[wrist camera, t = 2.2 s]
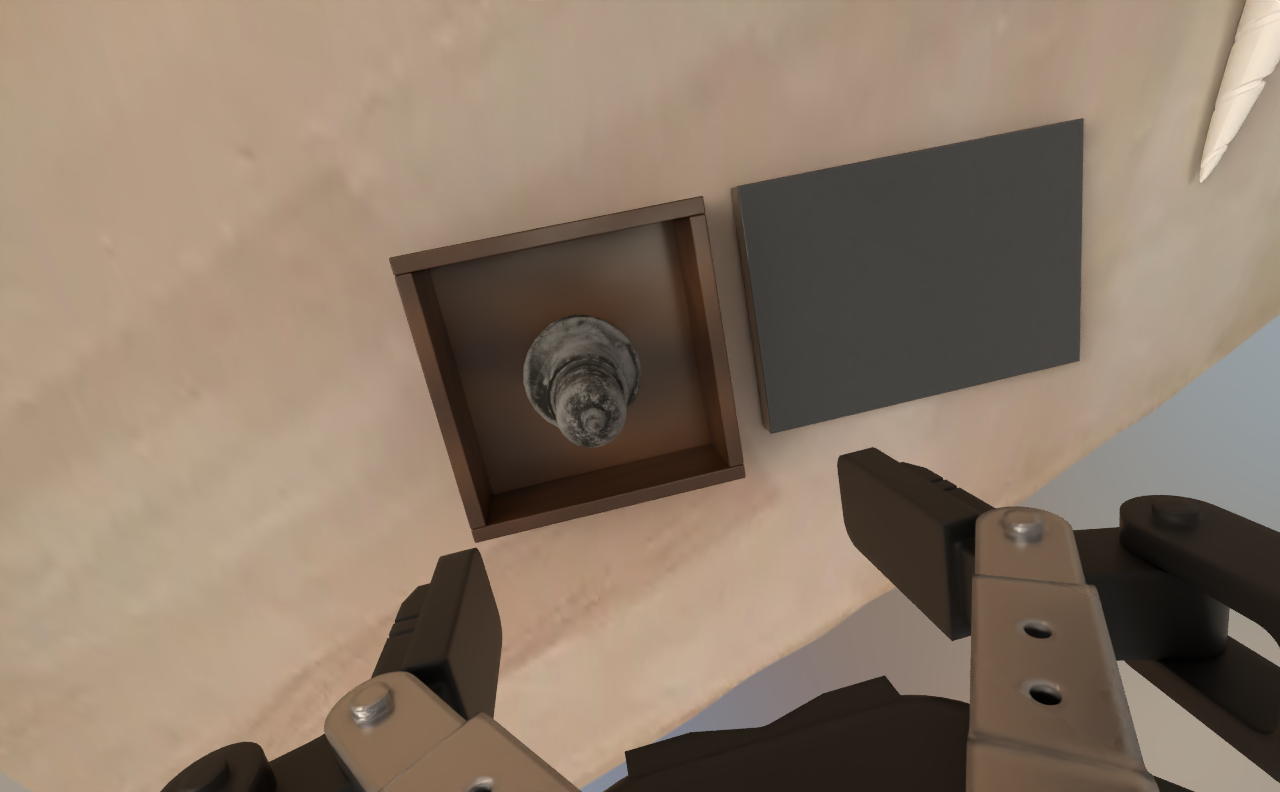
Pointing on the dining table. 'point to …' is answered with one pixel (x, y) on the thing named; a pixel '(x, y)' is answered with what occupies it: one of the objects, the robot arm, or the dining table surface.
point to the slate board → (913, 273)
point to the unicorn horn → (1243, 76)
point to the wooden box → (517, 314)
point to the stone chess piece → (583, 378)
